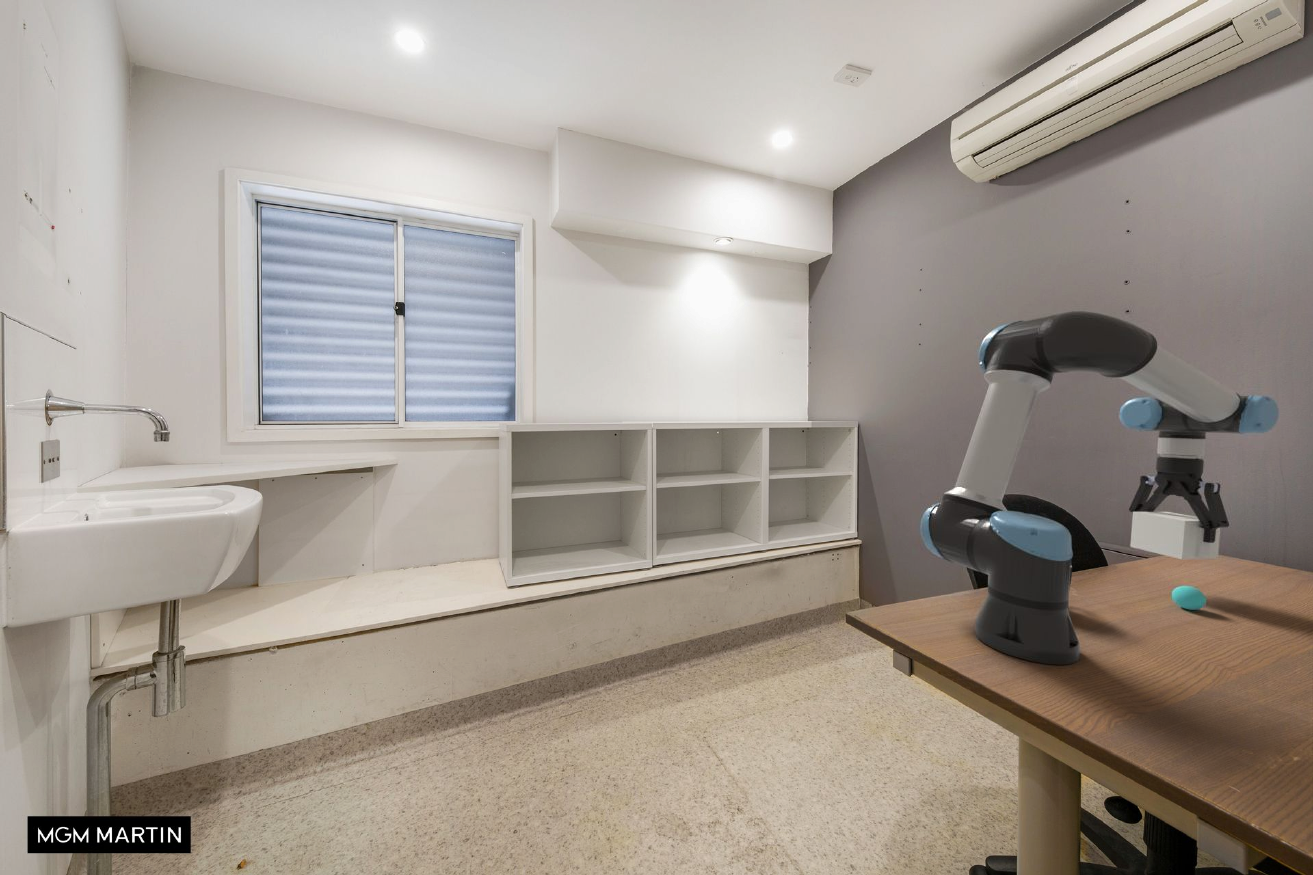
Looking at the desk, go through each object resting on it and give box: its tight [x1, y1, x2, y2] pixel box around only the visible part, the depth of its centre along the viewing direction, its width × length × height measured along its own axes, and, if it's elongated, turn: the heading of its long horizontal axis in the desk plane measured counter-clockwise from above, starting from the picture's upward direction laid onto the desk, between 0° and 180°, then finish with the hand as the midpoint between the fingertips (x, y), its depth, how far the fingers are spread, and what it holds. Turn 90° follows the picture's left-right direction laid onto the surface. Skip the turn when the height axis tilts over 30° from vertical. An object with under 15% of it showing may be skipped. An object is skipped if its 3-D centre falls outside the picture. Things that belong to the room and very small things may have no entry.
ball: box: [1171, 585, 1207, 611], centre depth 103 cm, size 5×5×5 cm
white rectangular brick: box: [1130, 511, 1221, 560], centre depth 113 cm, size 10×10×9 cm
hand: (1172, 549), depth 113 cm, fingers closed on white rectangular brick, 10 cm apart
